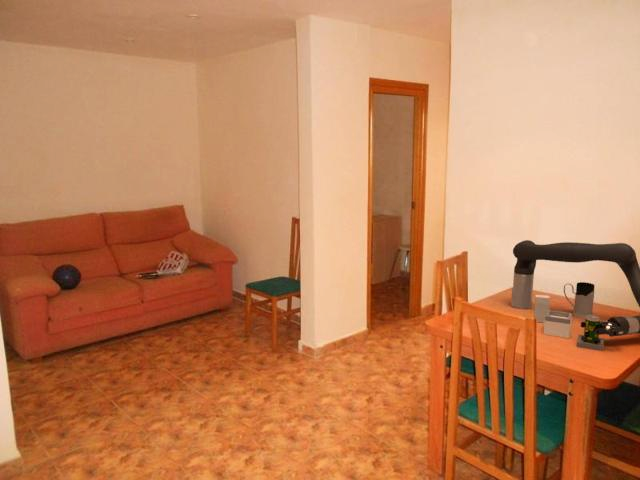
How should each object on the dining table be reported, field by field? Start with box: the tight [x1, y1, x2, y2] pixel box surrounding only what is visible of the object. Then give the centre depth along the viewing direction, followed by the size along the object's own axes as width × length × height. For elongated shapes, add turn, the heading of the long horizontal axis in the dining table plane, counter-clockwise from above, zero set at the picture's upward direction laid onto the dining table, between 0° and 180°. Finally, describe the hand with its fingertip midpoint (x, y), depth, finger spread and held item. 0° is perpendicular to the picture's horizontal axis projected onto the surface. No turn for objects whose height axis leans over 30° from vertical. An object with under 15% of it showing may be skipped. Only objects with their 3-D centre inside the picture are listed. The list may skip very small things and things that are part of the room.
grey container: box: [563, 281, 595, 319], centre depth 249 cm, size 9×14×15 cm, turn 41°
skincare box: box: [533, 294, 551, 324], centre depth 239 cm, size 6×4×12 cm
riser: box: [543, 309, 573, 339], centre depth 225 cm, size 10×10×8 cm
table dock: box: [576, 334, 605, 352], centre depth 212 cm, size 9×9×2 cm
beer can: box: [582, 314, 601, 344], centre depth 211 cm, size 5×5×12 cm
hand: (588, 328), depth 210 cm, fingers open, 8 cm apart
